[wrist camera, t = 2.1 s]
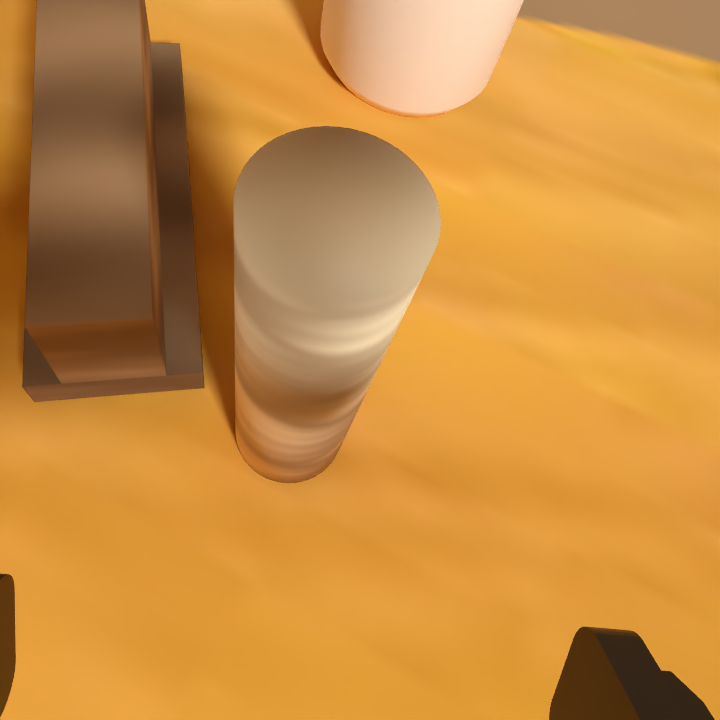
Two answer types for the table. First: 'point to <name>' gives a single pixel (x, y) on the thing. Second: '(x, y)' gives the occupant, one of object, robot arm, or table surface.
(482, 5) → the alcohol
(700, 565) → the table surface
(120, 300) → the brown block
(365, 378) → the dowel
